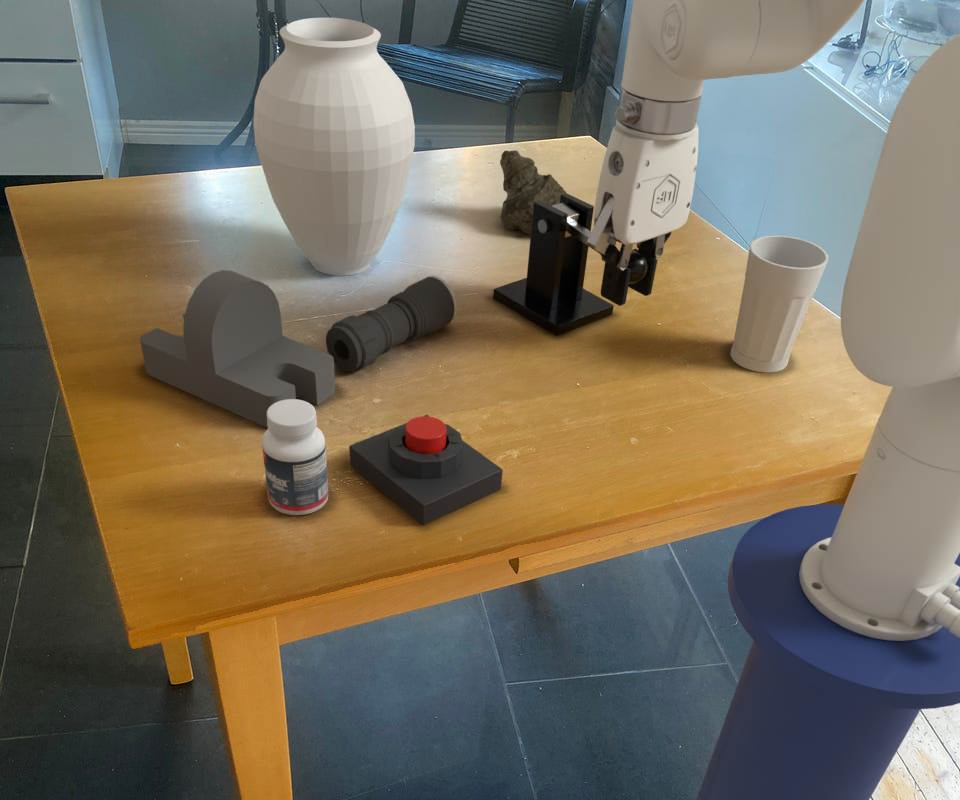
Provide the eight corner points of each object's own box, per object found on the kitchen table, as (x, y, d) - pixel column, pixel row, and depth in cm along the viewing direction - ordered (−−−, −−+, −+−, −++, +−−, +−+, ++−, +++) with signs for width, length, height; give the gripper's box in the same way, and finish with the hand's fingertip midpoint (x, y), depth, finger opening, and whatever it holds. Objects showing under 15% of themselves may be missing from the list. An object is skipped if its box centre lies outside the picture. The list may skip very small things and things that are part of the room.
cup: (741, 378, 106) (770, 270, 97) (711, 342, 111) (737, 237, 103) (807, 373, 107) (842, 266, 99) (775, 337, 113) (806, 233, 104)
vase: (442, 274, 119) (448, 41, 102) (314, 309, 111) (298, 62, 94) (363, 222, 129) (357, 1, 111) (241, 251, 121) (213, 17, 103)
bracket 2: (612, 314, 114) (628, 212, 106) (556, 336, 110) (569, 231, 102) (548, 279, 120) (559, 179, 112) (492, 298, 116) (499, 195, 107)
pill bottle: (258, 492, 87) (246, 404, 81) (310, 474, 89) (303, 387, 83) (285, 524, 84) (276, 435, 78) (339, 505, 86) (334, 417, 80)
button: (454, 446, 87) (454, 429, 86) (422, 460, 85) (422, 443, 84) (429, 428, 89) (429, 411, 88) (397, 441, 87) (397, 424, 86)
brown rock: (529, 151, 134) (471, 163, 129) (585, 123, 124) (524, 134, 119) (550, 238, 137) (494, 252, 132) (606, 216, 127) (548, 231, 123)
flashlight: (359, 383, 101) (357, 334, 97) (322, 364, 103) (318, 316, 99) (456, 331, 109) (457, 285, 106) (419, 315, 112) (420, 268, 108)
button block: (501, 489, 89) (504, 452, 86) (423, 525, 85) (423, 488, 82) (426, 434, 95) (427, 397, 92) (349, 465, 90) (348, 428, 88)
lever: (649, 284, 105) (657, 256, 102) (629, 292, 103) (636, 263, 101) (561, 225, 111) (566, 197, 108) (540, 232, 109) (545, 204, 107)
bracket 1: (208, 335, 106) (193, 235, 98) (340, 390, 100) (335, 288, 92) (141, 371, 100) (119, 268, 92) (277, 432, 94) (266, 326, 86)
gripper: (626, 138, 87) (596, 330, 100) (743, 108, 95) (701, 289, 108) (567, 113, 91) (546, 301, 104) (685, 86, 99) (651, 264, 112)
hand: (625, 293), depth 106 cm, fingers closed on lever, 3 cm apart
